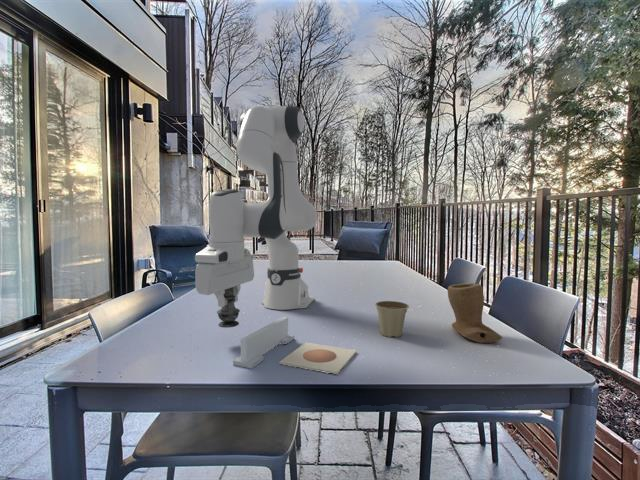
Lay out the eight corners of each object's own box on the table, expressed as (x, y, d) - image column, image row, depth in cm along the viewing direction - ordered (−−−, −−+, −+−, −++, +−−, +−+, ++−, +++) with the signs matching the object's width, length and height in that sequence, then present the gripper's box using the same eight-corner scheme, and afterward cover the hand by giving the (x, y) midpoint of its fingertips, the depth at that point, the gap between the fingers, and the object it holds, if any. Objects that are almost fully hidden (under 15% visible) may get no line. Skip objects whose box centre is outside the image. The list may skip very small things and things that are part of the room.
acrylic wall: (278, 336, 102) (278, 315, 101) (294, 339, 100) (294, 317, 99) (232, 364, 82) (232, 338, 82) (251, 368, 81) (251, 342, 80)
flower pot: (409, 331, 108) (410, 302, 107) (406, 341, 99) (407, 310, 98) (378, 327, 111) (378, 299, 110) (372, 337, 102) (372, 306, 102)
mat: (305, 344, 96) (305, 341, 96) (356, 352, 90) (356, 349, 90) (279, 364, 83) (279, 361, 83) (337, 375, 78) (337, 372, 77)
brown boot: (441, 327, 112) (443, 279, 111) (480, 328, 112) (482, 279, 111) (457, 344, 97) (459, 289, 96) (503, 345, 97) (505, 289, 96)
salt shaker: (234, 328, 93) (233, 282, 91) (213, 327, 94) (211, 281, 93) (243, 321, 98) (242, 277, 97) (223, 320, 100) (222, 276, 98)
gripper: (240, 247, 105) (241, 294, 106) (189, 256, 86) (191, 313, 88) (259, 248, 103) (259, 296, 104) (211, 257, 84) (212, 316, 85)
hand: (228, 304), depth 96 cm, fingers closed on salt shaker, 3 cm apart
